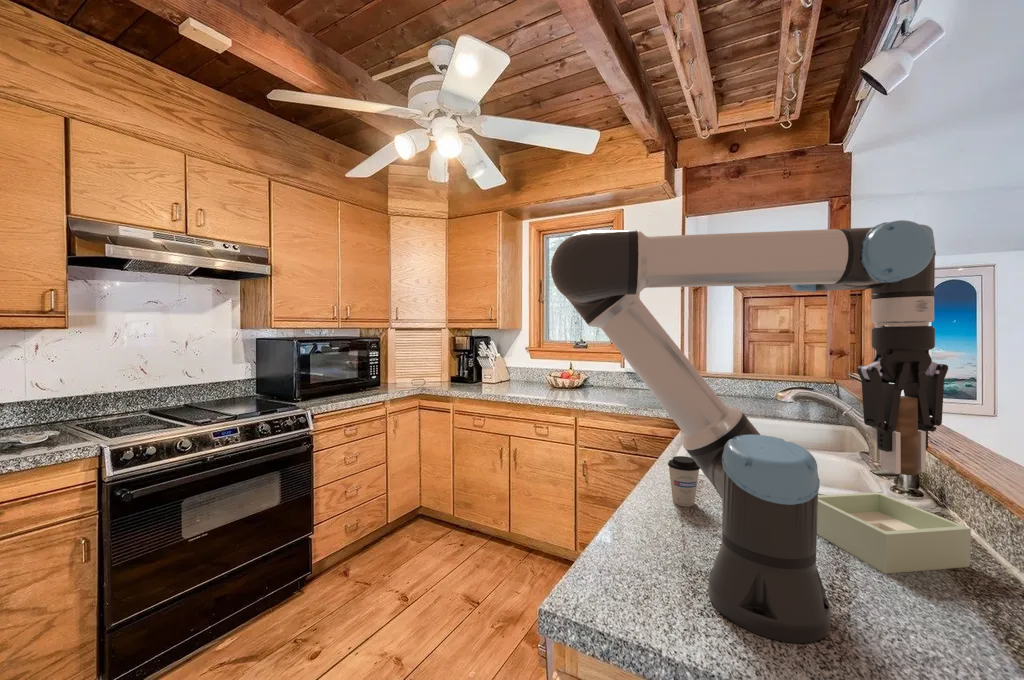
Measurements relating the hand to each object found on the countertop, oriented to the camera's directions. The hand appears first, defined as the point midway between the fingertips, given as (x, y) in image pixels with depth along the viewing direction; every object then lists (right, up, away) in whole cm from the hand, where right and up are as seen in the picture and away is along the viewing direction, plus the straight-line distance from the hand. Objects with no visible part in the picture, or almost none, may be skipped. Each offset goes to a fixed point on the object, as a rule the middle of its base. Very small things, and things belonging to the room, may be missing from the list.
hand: (902, 469), depth 70 cm
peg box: (+5, -17, +10) cm, 20 cm away
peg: (0, 0, 0) cm, 0 cm away
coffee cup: (-24, -16, +29) cm, 41 cm away
